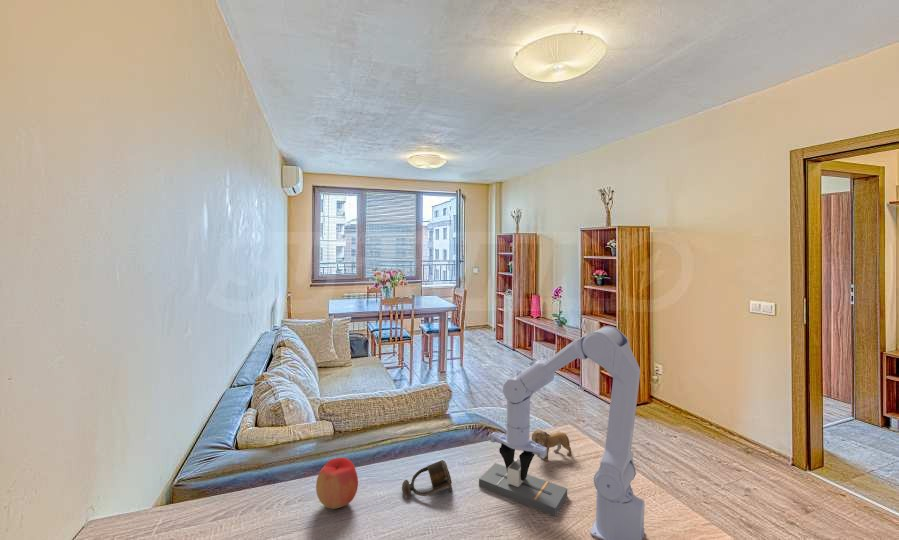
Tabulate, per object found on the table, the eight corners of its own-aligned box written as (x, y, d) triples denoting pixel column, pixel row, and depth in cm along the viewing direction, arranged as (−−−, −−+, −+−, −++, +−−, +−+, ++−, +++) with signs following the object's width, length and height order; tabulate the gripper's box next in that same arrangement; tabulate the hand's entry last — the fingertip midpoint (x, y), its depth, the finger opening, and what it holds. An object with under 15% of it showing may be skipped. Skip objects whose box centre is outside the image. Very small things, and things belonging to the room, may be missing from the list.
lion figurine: (538, 467, 108) (539, 435, 108) (526, 458, 113) (527, 428, 112) (576, 454, 115) (577, 425, 115) (563, 446, 120) (564, 418, 119)
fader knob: (526, 477, 99) (526, 461, 99) (518, 487, 95) (518, 470, 95) (515, 473, 101) (515, 458, 101) (507, 483, 97) (507, 467, 96)
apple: (320, 494, 95) (319, 454, 95) (359, 490, 97) (359, 451, 96) (313, 520, 86) (312, 477, 85) (356, 516, 87) (356, 473, 87)
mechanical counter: (453, 485, 91) (457, 454, 100) (400, 476, 92) (409, 447, 101) (450, 509, 93) (455, 476, 102) (398, 500, 94) (407, 469, 103)
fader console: (567, 496, 95) (567, 488, 95) (555, 516, 88) (555, 507, 88) (495, 469, 106) (495, 462, 106) (478, 486, 99) (479, 478, 99)
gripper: (551, 425, 96) (550, 478, 97) (499, 411, 104) (498, 460, 105) (541, 436, 91) (540, 492, 91) (486, 420, 99) (486, 472, 99)
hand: (517, 476), depth 98 cm, fingers closed on fader knob, 3 cm apart
